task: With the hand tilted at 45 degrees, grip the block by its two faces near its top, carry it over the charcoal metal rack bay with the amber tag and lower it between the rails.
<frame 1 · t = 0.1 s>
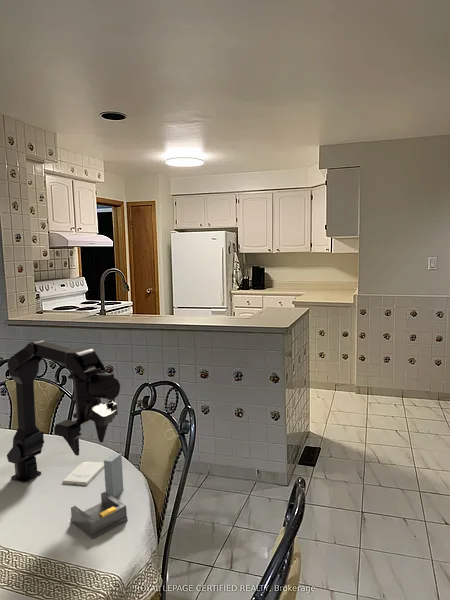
hand: (89, 448, 125), 15 cm above the table, tool pointing down, fingers open, 9 cm apart
external hard drive: (85, 476, 140), on the table
block: (114, 493, 128), on the table
rack: (99, 520, 115), on the table
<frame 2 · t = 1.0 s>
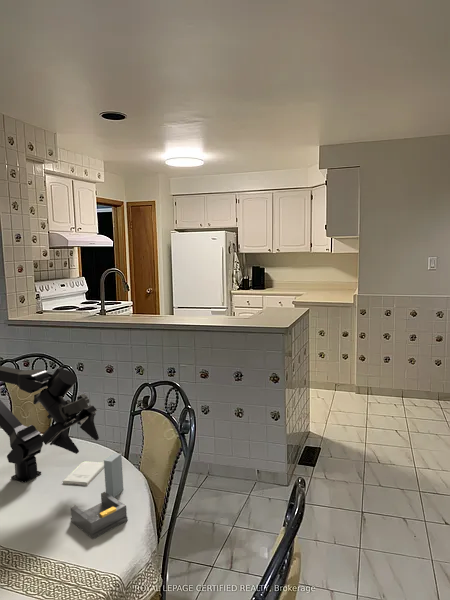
hand: (88, 445, 130), 13 cm above the table, tool tilted 45°, fingers open, 9 cm apart
nothing on the table moved.
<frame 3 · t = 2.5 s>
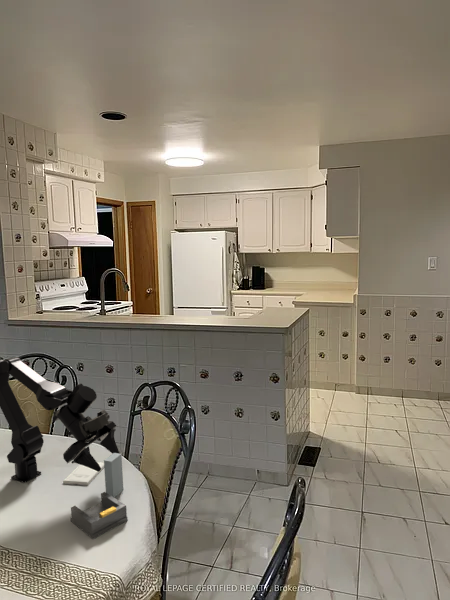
hand: (109, 462, 128), 9 cm above the table, tool tilted 45°, fingers open, 9 cm apart
nothing on the table moved.
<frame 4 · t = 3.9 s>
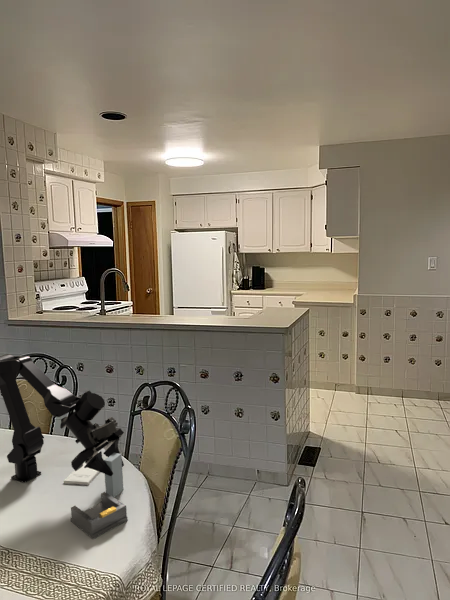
hand: (117, 470, 127), 7 cm above the table, tool tilted 45°, fingers closed on block, 5 cm apart
block: (114, 493, 128), on the table, touching gripper
everything else where it was.
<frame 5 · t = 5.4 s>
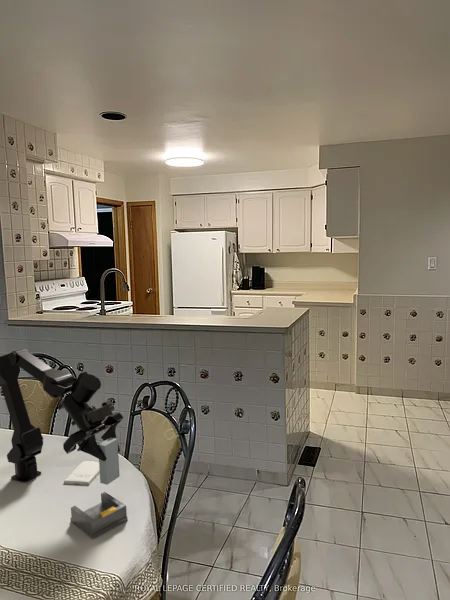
hand: (112, 456, 122), 14 cm above the table, tool tilted 45°, fingers closed on block, 5 cm apart
block: (110, 479, 123), point 7 cm above the table, touching gripper
everything else where it was.
when the fingers open (9 cm above the table, at t = 7.3 s): block drops 1 cm, resting on rack.
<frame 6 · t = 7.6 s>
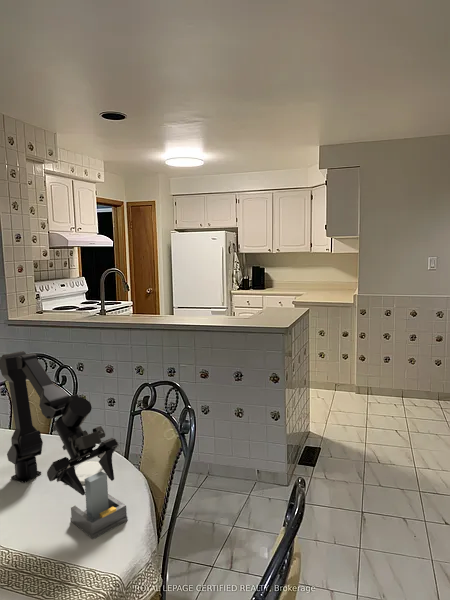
hand: (99, 487, 114), 10 cm above the table, tool tilted 45°, fingers open, 8 cm apart
block: (98, 516, 116), point 1 cm above the table, touching rack
everything else where it was.
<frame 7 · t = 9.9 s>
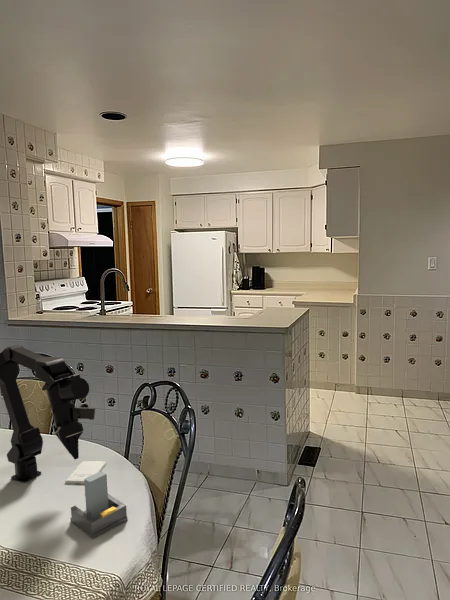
hand: (74, 456, 126), 12 cm above the table, tool tilted 15°, fingers open, 9 cm apart
nothing on the table moved.
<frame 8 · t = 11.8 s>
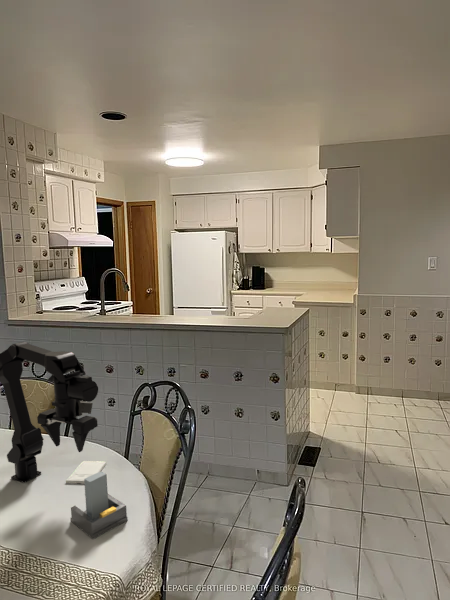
hand: (69, 448, 129), 13 cm above the table, tool pointing down, fingers open, 9 cm apart
nothing on the table moved.
at the end: block inside the target area on the rack (0.1 cm from its centre), point 1.0 cm above the rack's base; block tilted 0°; the gripper is holding nothing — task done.
